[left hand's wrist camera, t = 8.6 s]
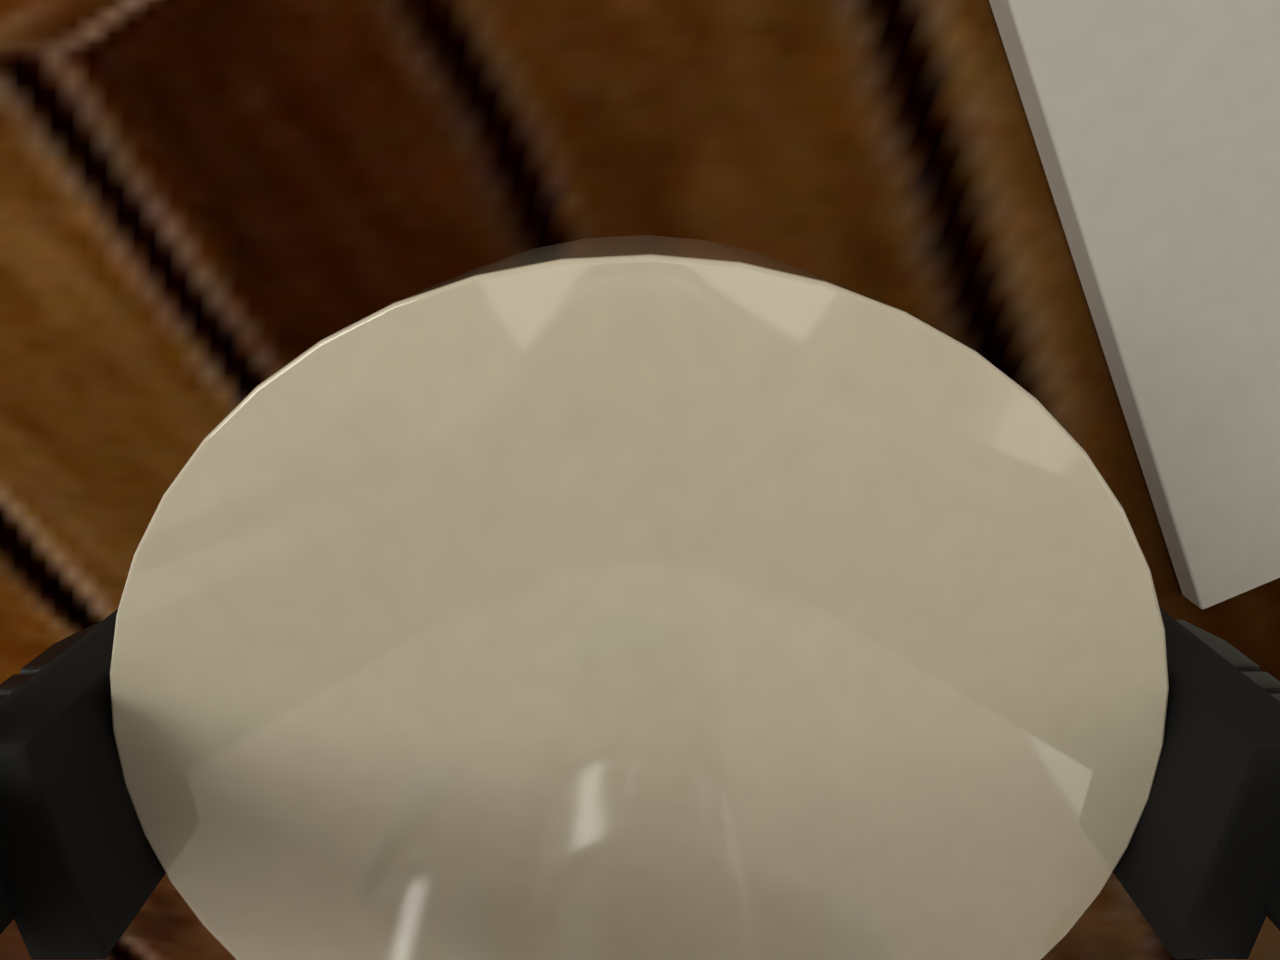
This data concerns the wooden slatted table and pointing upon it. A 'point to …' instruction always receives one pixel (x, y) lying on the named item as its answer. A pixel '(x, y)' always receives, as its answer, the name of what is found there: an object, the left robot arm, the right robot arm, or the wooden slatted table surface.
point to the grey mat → (1174, 248)
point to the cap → (639, 633)
